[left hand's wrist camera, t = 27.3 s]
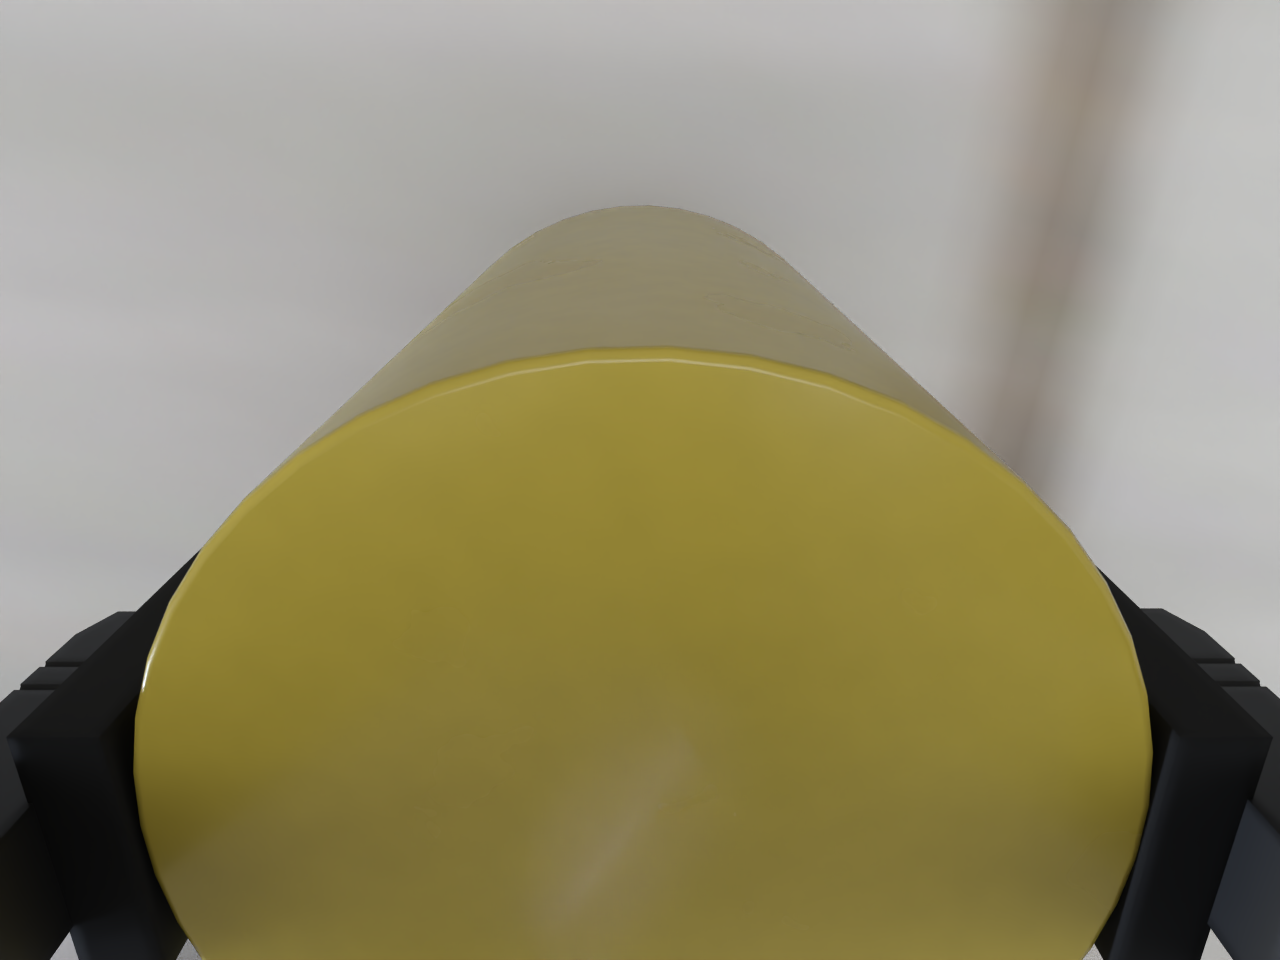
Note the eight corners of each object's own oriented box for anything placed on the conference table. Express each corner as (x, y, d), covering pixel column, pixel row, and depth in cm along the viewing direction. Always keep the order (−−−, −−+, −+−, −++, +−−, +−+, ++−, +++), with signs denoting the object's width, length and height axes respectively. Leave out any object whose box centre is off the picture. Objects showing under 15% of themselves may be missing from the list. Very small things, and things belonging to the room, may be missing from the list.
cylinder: (928, 320, 18) (1388, 630, 7) (731, 656, 21) (833, 1246, 10) (526, 124, 16) (301, 122, 6) (376, 513, 19) (35, 1016, 8)
